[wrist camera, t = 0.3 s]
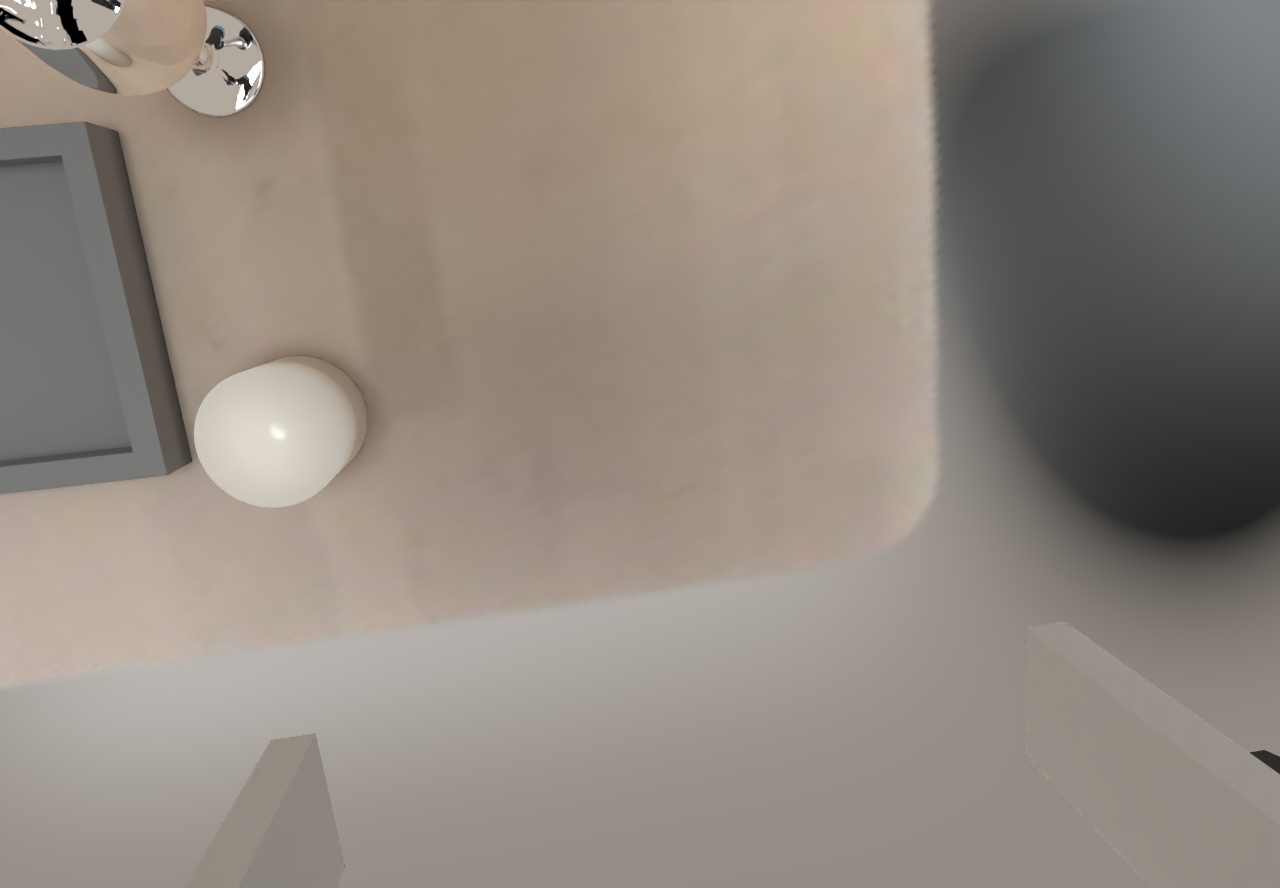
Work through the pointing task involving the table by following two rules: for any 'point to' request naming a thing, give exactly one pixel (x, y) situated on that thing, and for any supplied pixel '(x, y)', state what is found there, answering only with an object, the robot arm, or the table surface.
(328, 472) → the white pillar candle
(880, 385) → the table surface
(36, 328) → the tray
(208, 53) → the wineglass
